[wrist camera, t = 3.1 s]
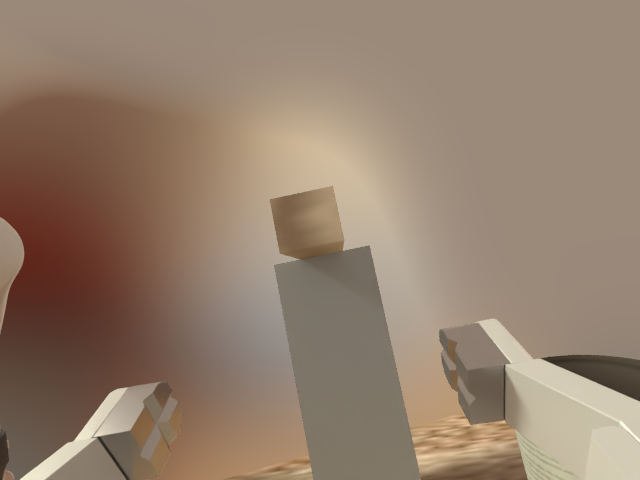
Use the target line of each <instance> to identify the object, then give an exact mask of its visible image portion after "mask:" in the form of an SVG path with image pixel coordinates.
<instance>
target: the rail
mask: <svg viewBox="0 0 640 480" xmlns="http://www.w3.org/2000/svg"><path fill="white" fill-rule="evenodd" d="M270 203H271V208H272V214H273V219H274V224H275V230H276V235H277V241H278V246H279V251H280V254H284V255H287V256H291V257H294V258H297V259H300V260H301V259H306V258H311V257H316V256H321V255H326V254H330V253H335V252H340V251H342V250H343V244H344V237H343V232H342V228H341V223H340V218H339V214H338V209H337V204H336V199H335V194H334V190H333V186H331V187H326V188H321V189H317V190H312V191H307V192H303V193H298V194H293V195H289V196H284V197H279V198H275V199H270Z"/></svg>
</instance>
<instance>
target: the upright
mask: <svg viewBox="0 0 640 480" xmlns="http://www.w3.org/2000/svg"><path fill="white" fill-rule="evenodd" d="M274 267H275V272H276V278H277V283H278V289H279V294H280V300H281V305H282V310H283V316H284V321H285V326H286V331H287V338H288V342H289V348H290V354H291V359H292V365H293V370H294V376H295V381H296V386H297V392H298V397H299V402H300V408H301V413H302V419H303V425H304V430H305V435H306V440H307V446H308V451H309V457H310V463H311V468H312V473H313V479H314V480H421V477H420V473H419V468H418V464H417V459H416V455H415V450H414V446H413V441H412V436H411V432H410V427H409V423H408V418H407V414H406V409H405V405H404V401H403V396H402V391H401V387H400V382H399V377H398V373H397V368H396V364H395V359H394V355H393V350H392V346H391V341H390V337H389V332H388V327H387V323H386V318H385V314H384V309H383V305H382V300H381V296H380V291H379V287H378V282H377V277H376V273H375V268H374V264H373V259H372V255H371V250H370V246H365V247H360V248H355V249H350V250H345V251H340V252H335V253H330V254H326V255H321V256H316V257H311V258H306V259H301V260H296V261H291V262H287V263H282V264H277V265H274Z"/></svg>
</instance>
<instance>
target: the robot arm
mask: <svg viewBox="0 0 640 480" xmlns="http://www.w3.org/2000/svg"><path fill="white" fill-rule="evenodd" d="M23 259H24V248H23V244H22V241H21V239H20V237H19V235H18V233H17V232H16V231H15V230H14V228H13V227H12V226H11V225H10V224H9V223H7V222H6V221H5V220H3V219H2V218H0V332H1V327H2V322H3V317H4V312H5V307H6V302H7V296H8V292H9V289H10V286H11V284H12V282H13V280H14V278H15V277H16V275H17V274H18V272H19V270H20V268H21V266H22V263H23ZM439 338H440V342H441V344H442V346H443V348H444V350H443V351H442V352H441V358H442V364H443V368H444V372H445V375H446V377H447V380H448V382H449V384H450V386H451V388H452V389H454V390H455V391H457V392H458V399H459V404H460V405H461V407H462V409H463V411H464V413H465V415H466V417H467V419H468V421H469V423H470V425H474V424H481V423H488V422H495V421H503V420H505V422H506V423H507V424H509V425H510V426H511V427H513V428H514V429H515V430H517V431H518V432H519V433H521V434H522V435H523V436H525V437H526V438H527V439H528V440H530V441H531V442H532V443H534V444H535V445H536V446H538V447H539V448H540V449H542V450H543V451H544V452H546V453H547V454H548V455H550V456H551V457H552V458H554V459H555V460H556V461H558V462H559V463H560V464H562V465H563V466H564V467H566V468H567V469H568V470H570V471H571V472H572V473H574V474H575V475H576V476H578V477H579V478H580V479H582V480H640V401H637V400H635V399H633V398H630V397H628V396H626V395H623V394H621V393H619V392H616V391H614V390H612V389H609V388H607V387H605V386H603V385H600V384H598V383H596V382H593V381H591V380H589V379H586V378H584V377H582V376H579V375H577V374H575V373H572V372H570V371H568V370H565V369H563V368H561V367H559V366H556V365H554V364H552V363H549V362H547V361H545V360H542V359H533V358H532V357H531V356H530V355H529V353H528V352H527V351H526V350H525V349H524V348H523V347H522V346H521V345H520V344H519V343H518V342H517V341H516V339H515V338H514V337H513V336H512V335H511V334H510V333H509V332H508V331H507V330H506V329H505V328H504V326H503V325H502V324H500V322H499V321H498V320H496V319H494V318H493V319H488V320H484V321H479V322H475V323H470V324H465V325H461V326H455V327H450V328H445V329H440V331H439ZM171 393H172V389H171V388H170V386H169V384H168V383H167V382H157V383H151V384H144V385H138V386H132V387H128V388H122V389H116V390H114V391H113V392H111V393H110V394H109V395H108V396H107V398H106V399H105V400H104V402H103V403H102V404H101V406H100V407H99V408H98V410H97V411H96V412H95V414H94V415H93V416H92V418H91V419H90V421H89V422H88V423H87V424H86V426H85V427H84V429H83V430H82V431H81V433H80V434H79V435H78V436H77V438H76V439H75V440H74V442H70V443H67V444H66V445H64V446H63V447H62V448H61V449H59V450H58V451H57V452H55V453H54V454H53V455H51V456H50V457H49V458H48V459H46V460H45V461H44V462H42V463H41V464H40V465H38V466H37V467H36V468H35V469H33V470H32V471H31V472H30V473H28V474H27V475H25V476H24V477H23V478H22V479H20V480H147V479H152V478H157V477H160V475H161V473H162V470H163V468H164V466H165V464H166V461H167V459H168V457H169V455H170V452H171V451H170V448H169V444H170V443H171V442H172V441H173V440H174V439H175V438H176V437H177V436H178V434H179V431H180V429H181V425H182V410H181V406H180V404H179V402H178V401H176V400H175V399H173V398H171V397H170V396H171ZM8 447H9V442H8V440H7V437H6V431H5V430H2V429H0V480H14V476H13V474H12V473H11V472H9V471H6V470H5V467H6V465H7V463H8V462H9V455H8Z"/></svg>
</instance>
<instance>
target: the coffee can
mask: <svg viewBox="0 0 640 480" xmlns="http://www.w3.org/2000/svg"><path fill="white" fill-rule="evenodd" d="M540 359H542V360H545V361H547V362H549V363H552V364H554V365H556V366H559V367H561V368H563V369H565V370H568V371H570V372H572V373H575V374H577V375H579V376H582V377H584V378H586V379H589V380H591V381H593V382H596V383H598V384H600V385H603V386H605V387H607V388H609V389H612V390H614V391H616V392H619V393H621V394H623V395H626V396H628V397H630V398H633V399H635V400H637V401H640V360H635V359H629V358H621V357H612V356H599V355H568V356H556V357H547V358H540ZM515 433H516V437H517V441H518V444H519V448H520V452H521V456H522V460H523V463H524V467H525V471H526V475H527V478H528V480H582V479H580V478H579V477H578V476H576V475H575V474H574V473H572V472H571V471H570V470H568V469H567V468H566V467H564V466H563V465H562V464H560V463H559V462H558V461H556V460H555V459H554V458H552V457H551V456H550V455H548V454H547V453H546V452H544V451H543V450H542V449H540V448H539V447H538V446H536V445H535V444H534V443H532V442H531V441H530V440H528V439H527V438H526V437H525V436H523V435H522V434H521V433H519V432H518V431H517V430H515Z"/></svg>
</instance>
